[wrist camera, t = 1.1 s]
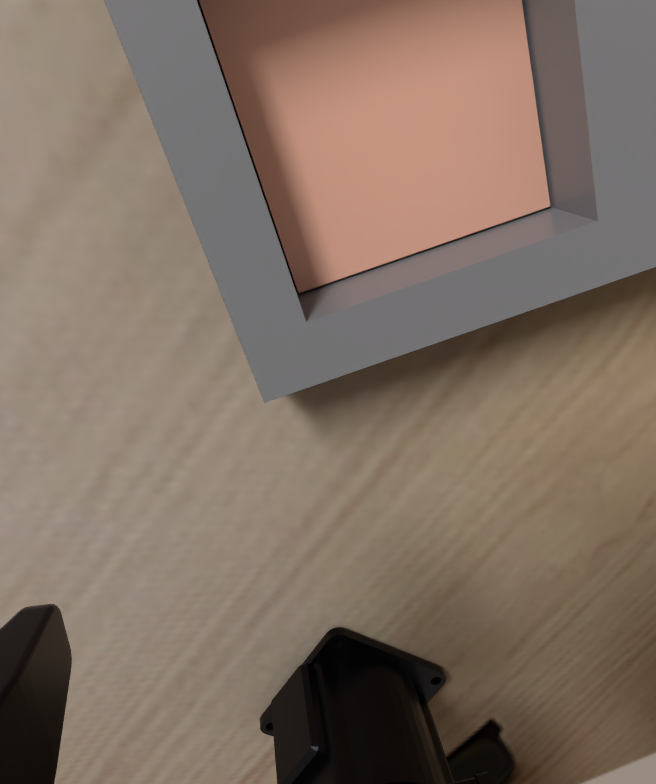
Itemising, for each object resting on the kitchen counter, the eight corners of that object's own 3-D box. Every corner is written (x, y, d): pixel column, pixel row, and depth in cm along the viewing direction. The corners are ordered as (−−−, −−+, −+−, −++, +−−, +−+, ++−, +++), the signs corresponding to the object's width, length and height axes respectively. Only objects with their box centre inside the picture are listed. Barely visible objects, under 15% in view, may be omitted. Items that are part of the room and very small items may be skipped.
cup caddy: (1075, -410, 16) (1247, -516, 13) (990, 112, 22) (1099, 112, 19) (87, -75, 16) (58, -113, 13) (259, 366, 22) (264, 402, 19)
